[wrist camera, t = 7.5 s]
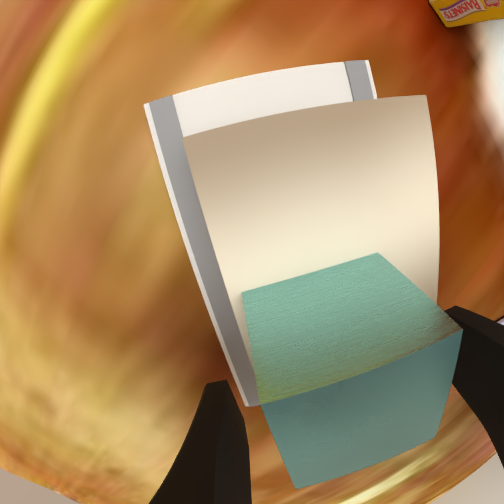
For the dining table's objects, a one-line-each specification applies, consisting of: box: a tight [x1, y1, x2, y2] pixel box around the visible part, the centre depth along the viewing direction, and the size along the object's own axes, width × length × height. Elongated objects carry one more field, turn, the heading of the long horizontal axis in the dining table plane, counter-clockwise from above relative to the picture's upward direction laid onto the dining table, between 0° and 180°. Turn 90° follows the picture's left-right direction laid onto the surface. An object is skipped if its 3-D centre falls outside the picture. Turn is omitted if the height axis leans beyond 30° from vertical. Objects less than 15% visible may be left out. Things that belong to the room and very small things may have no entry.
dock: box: [144, 60, 377, 407], centre depth 13 cm, size 14×8×2 cm, turn 14°
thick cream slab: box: [182, 95, 439, 374], centre depth 10 cm, size 12×5×5 cm, turn 14°
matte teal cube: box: [242, 252, 463, 489], centre depth 6 cm, size 3×3×3 cm
